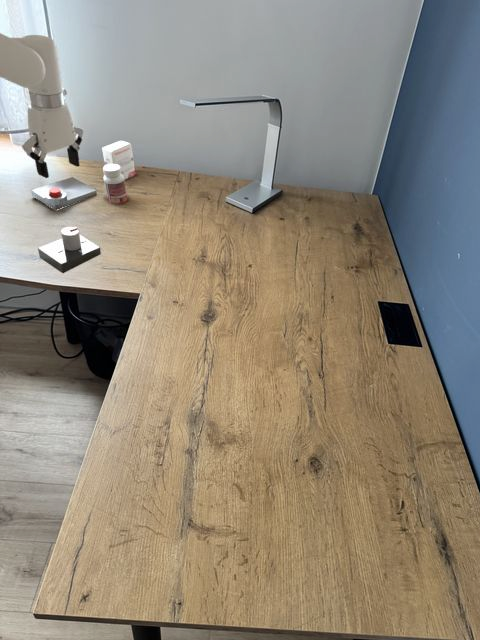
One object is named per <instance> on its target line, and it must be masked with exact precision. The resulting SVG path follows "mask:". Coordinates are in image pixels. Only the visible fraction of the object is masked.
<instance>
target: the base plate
mask: <svg viewBox="0 0 480 640" xmlns="http://www.w3.org/2000/svg"><path fill="white" fill-rule="evenodd" d="M80 241H81V248H79V249H78V250H73V251H70V250H66V249H65V248H64V246H63V240H62V238H60V239H57V240H54V241H52V242H49V243H48V244H45V245H42V246H39V247H37V251H38V255H39V256H38V257H39V259H41V260H42V261H44V262H45V263H47V264H48V265H50V266H51V267H53V268H54V269H55V270H57V271H58V272H60V273H61V274H65V273H67V272H69V271H72V270H73V269H75V268H77V267H80V266H81V265H82V264H84V263H87V262H88V261H91V260H93V259H95V258H97V257H98V256H99V257H100V256H101V255H102V252H101V247H100V246H98V245H97V244H96V243H94V242H93V241H91V240H89V239H88V238H86V237H84V235H81V234H80Z"/></svg>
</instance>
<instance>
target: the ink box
mask: <svg viewBox="0 0 480 640" xmlns="http://www.w3.org/2000/svg"><path fill="white" fill-rule="evenodd" d="M101 150H102V155H103V161H104V166H105V165H108V164H117V165H119V166H120V168H121V174H122V175H123V176H124V181H125V180H127V179H129V178H132V177H134V176H135V175H136V170H135V169H136V168H135V163H134V155H133V147H132V143H130V142H128V141H124V140H118V141H116V142H113V143H111V144H108V145H105V146H103V147H101Z"/></svg>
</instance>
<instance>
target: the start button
mask: <svg viewBox="0 0 480 640" xmlns="http://www.w3.org/2000/svg"><path fill="white" fill-rule="evenodd" d="M49 193H50V197H53V198H57V197H61V190H60V189H59V188H51V189H49Z"/></svg>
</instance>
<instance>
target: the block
mask: <svg viewBox="0 0 480 640" xmlns="http://www.w3.org/2000/svg"><path fill="white" fill-rule="evenodd" d="M51 188H59V189H60V190H61V197H57V198H53V197H50V193H49V189H51ZM30 193H31V196H33V197H32V198H34V197H35V198H36V200H37V199H38V200H37V201H39V200H40V201H41V202H40V201H39V202H40V203H42V202H43V203H45V204H46V205H45V204H44V205H45V206H47V205H48V206H50V207H52V208H53V209H55V210H57V209H60V208H62V207H65V206H68V205H70V206H72V205H71V204H73V203H75V204H77V203H76V202H78V203H80V202H82V201H85V200H87V199H89V198H92V197H94V196H97V195H98V194H97V190H96V189H95V188H93V187H91V186H89V185H87V184H86V183H84V182H82V181H80V180H79V179H77V178H75V177H74V176H72V177H71V176H70V177H68V178H65V179H62V180H59V181H55V182H52V183H49V184H46V185H43V186H40V187H39V186H38V187H36V188H32V189H31V190H30ZM35 198H34V199H35ZM84 199H85V200H84ZM79 201H80V202H79ZM43 203H42V204H43ZM73 205H74V204H73ZM48 206H47V207H48ZM50 207H49V208H50ZM68 207H69V206H68ZM52 208H51V209H52ZM53 209H52V210H53ZM55 210H54V211H55Z"/></svg>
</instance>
